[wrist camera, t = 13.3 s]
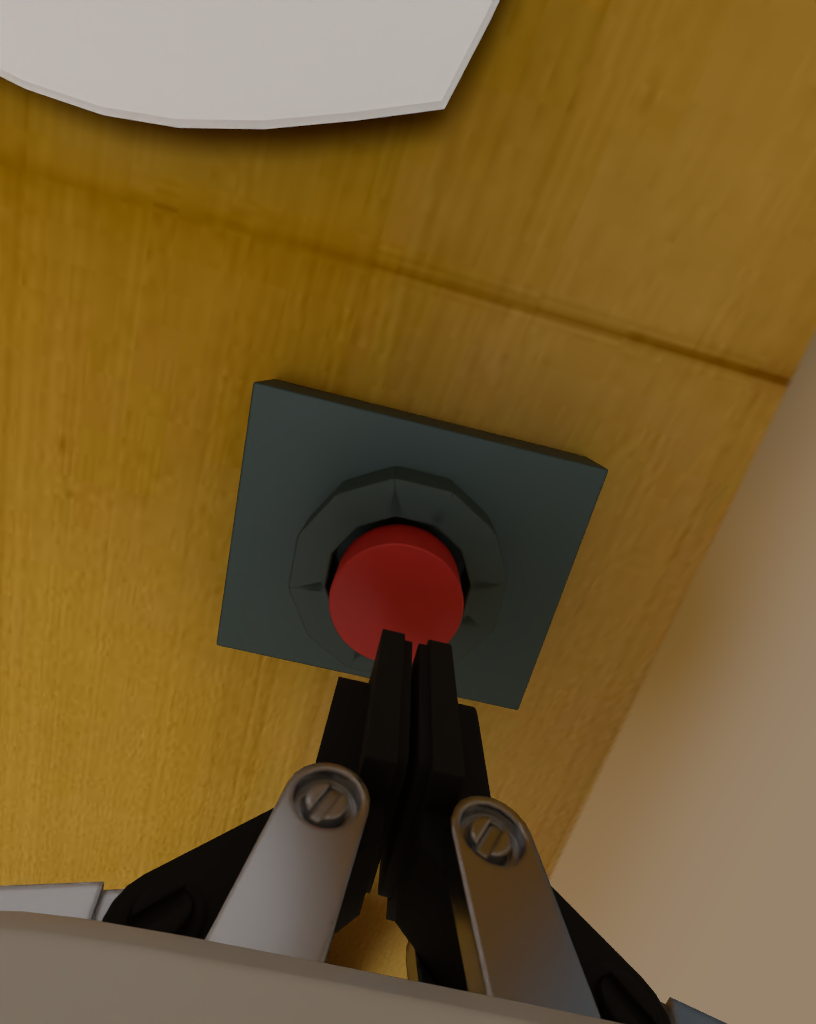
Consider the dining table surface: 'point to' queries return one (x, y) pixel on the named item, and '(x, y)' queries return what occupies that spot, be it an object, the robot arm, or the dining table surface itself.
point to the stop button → (396, 589)
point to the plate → (242, 57)
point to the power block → (399, 500)
